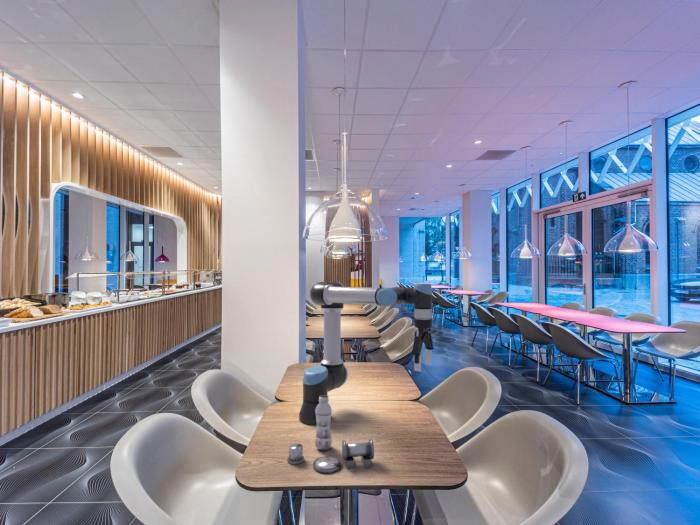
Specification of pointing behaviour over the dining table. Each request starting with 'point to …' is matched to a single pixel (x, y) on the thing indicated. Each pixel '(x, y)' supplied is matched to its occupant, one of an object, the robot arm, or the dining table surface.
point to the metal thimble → (295, 454)
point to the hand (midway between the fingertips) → (423, 367)
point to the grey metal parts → (346, 457)
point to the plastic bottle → (323, 424)
